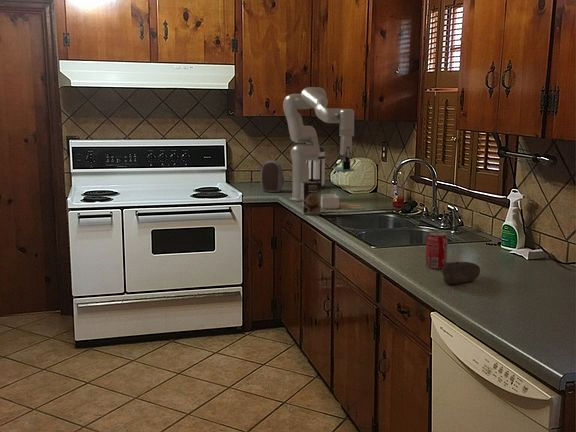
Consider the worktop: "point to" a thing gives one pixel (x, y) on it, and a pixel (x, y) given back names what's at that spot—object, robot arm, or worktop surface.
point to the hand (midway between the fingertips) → (346, 168)
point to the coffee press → (317, 168)
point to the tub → (329, 201)
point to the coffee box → (310, 198)
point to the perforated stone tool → (460, 272)
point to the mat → (350, 206)
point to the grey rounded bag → (272, 176)
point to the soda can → (436, 250)
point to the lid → (343, 168)
